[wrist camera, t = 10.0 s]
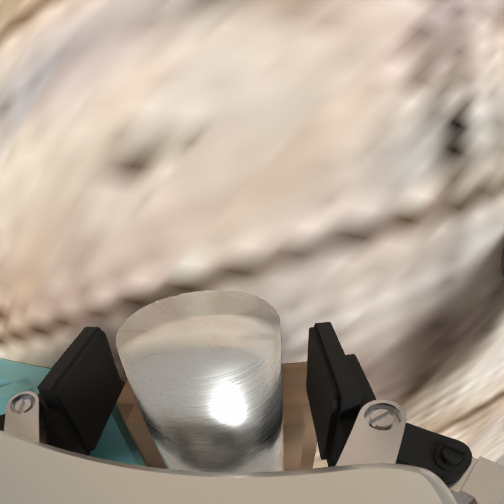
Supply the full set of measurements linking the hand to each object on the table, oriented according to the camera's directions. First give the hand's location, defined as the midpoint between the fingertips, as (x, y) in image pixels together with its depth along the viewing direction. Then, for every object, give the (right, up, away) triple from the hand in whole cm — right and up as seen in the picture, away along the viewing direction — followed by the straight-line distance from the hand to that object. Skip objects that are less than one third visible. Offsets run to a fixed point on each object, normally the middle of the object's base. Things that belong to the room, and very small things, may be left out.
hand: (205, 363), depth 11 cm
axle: (0, -3, +1) cm, 3 cm away
